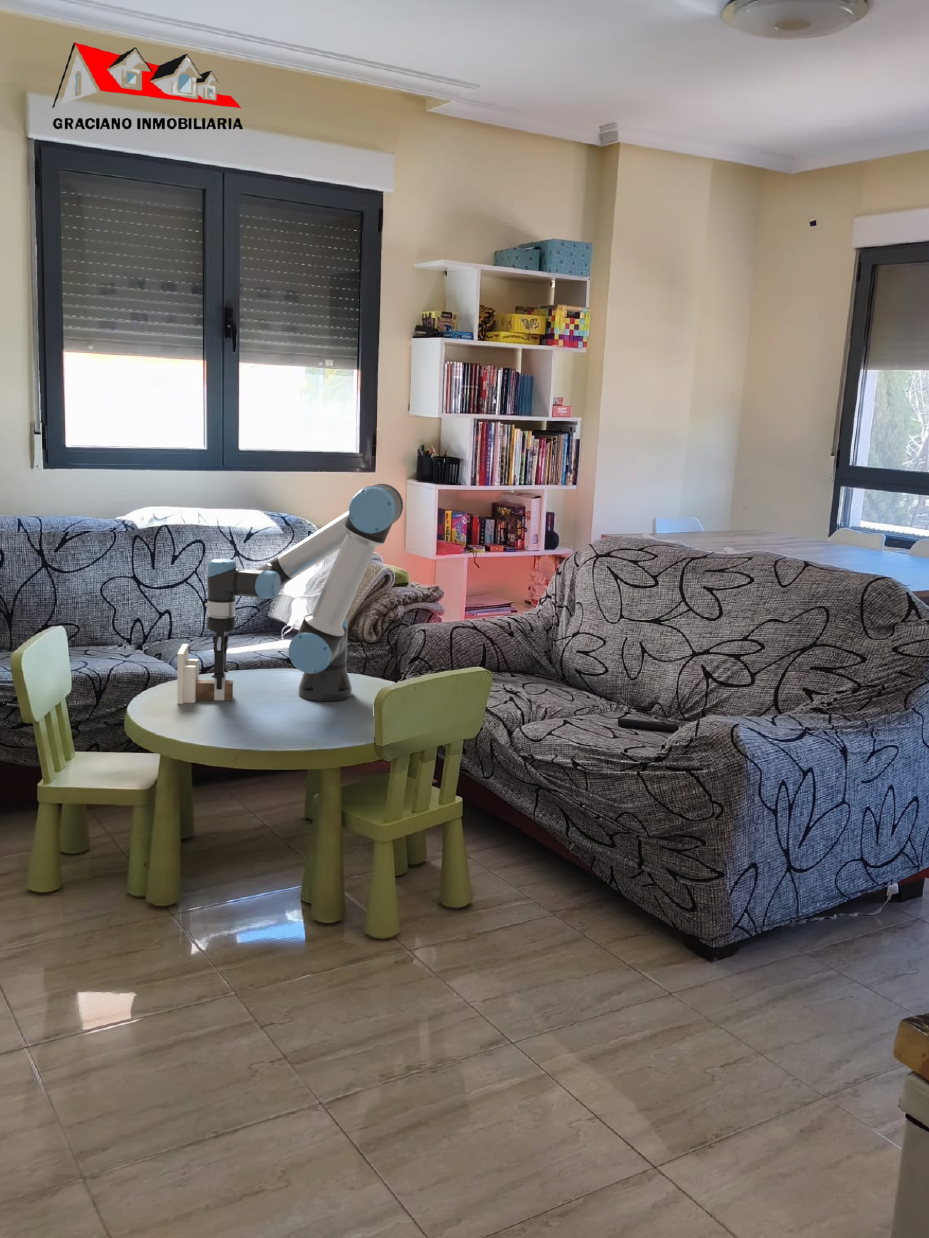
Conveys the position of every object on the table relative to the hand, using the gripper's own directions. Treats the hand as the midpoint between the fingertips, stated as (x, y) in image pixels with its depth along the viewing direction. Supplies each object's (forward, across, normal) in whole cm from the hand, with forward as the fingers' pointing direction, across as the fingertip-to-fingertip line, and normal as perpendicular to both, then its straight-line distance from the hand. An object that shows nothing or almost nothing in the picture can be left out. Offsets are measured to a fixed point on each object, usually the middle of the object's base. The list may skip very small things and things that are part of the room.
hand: (219, 697), depth 304 cm
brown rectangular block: (0, 0, -3) cm, 3 cm away
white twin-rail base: (0, 0, -8) cm, 8 cm away
